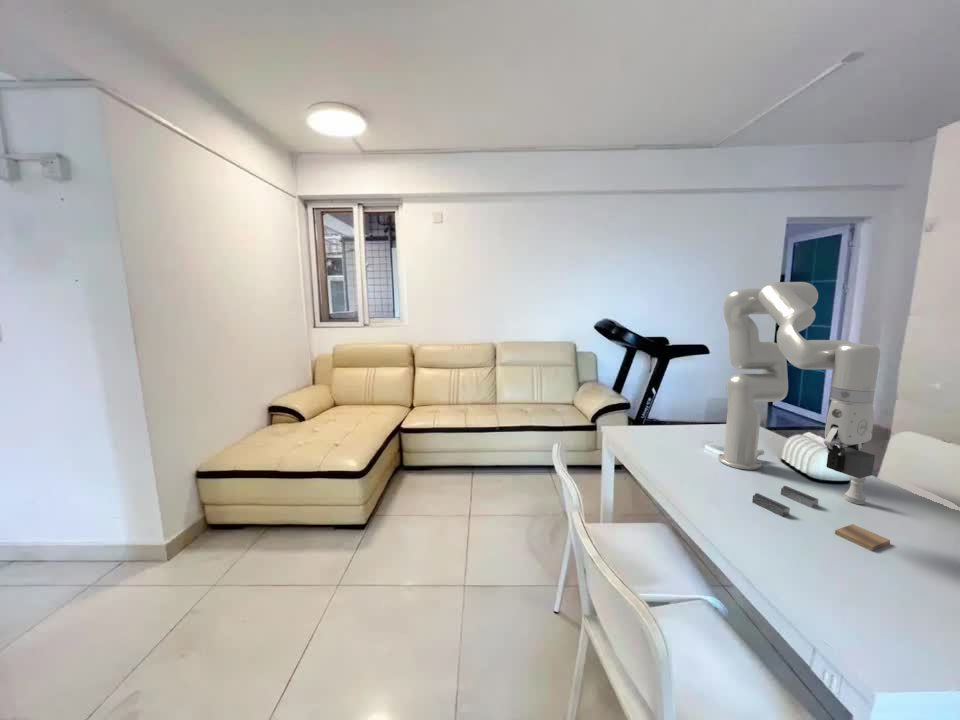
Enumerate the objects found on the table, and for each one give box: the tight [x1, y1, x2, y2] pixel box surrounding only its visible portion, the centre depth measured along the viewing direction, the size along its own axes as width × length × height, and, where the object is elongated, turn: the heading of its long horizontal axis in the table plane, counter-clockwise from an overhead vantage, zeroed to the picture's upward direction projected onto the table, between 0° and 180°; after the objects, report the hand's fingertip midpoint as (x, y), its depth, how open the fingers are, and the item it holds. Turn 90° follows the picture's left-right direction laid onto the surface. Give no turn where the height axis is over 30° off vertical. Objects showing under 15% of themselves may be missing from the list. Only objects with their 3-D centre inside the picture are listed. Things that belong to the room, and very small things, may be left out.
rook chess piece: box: [844, 475, 867, 506], centre depth 109 cm, size 4×4×8 cm
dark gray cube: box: [834, 448, 876, 479], centre depth 92 cm, size 5×5×5 cm
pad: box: [834, 523, 891, 552], centre depth 92 cm, size 7×7×1 cm
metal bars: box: [752, 485, 819, 517], centre depth 108 cm, size 14×8×2 cm, turn 110°
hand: (842, 467), depth 95 cm, fingers closed on dark gray cube, 5 cm apart
